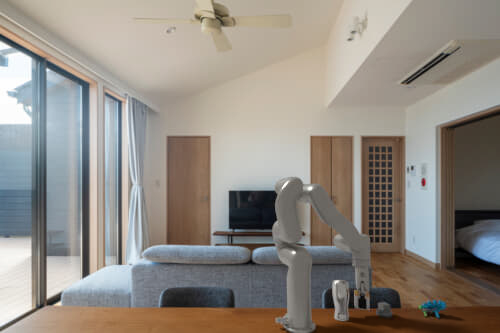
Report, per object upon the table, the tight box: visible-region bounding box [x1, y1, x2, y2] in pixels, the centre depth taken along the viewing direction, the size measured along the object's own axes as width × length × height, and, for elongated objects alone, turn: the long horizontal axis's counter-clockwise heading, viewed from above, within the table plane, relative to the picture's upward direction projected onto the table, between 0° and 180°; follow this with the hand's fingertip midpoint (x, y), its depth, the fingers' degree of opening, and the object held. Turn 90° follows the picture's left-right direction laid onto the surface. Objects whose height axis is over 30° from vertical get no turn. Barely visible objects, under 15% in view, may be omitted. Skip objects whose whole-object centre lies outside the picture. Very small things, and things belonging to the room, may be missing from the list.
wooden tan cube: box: [353, 289, 371, 311], centre depth 124 cm, size 6×6×6 cm
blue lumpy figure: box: [418, 299, 448, 319], centre depth 125 cm, size 11×6×10 cm
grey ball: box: [376, 301, 394, 319], centre depth 126 cm, size 6×6×5 cm
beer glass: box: [331, 279, 350, 322], centre depth 124 cm, size 7×7×15 cm
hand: (361, 305), depth 124 cm, fingers closed on wooden tan cube, 5 cm apart
